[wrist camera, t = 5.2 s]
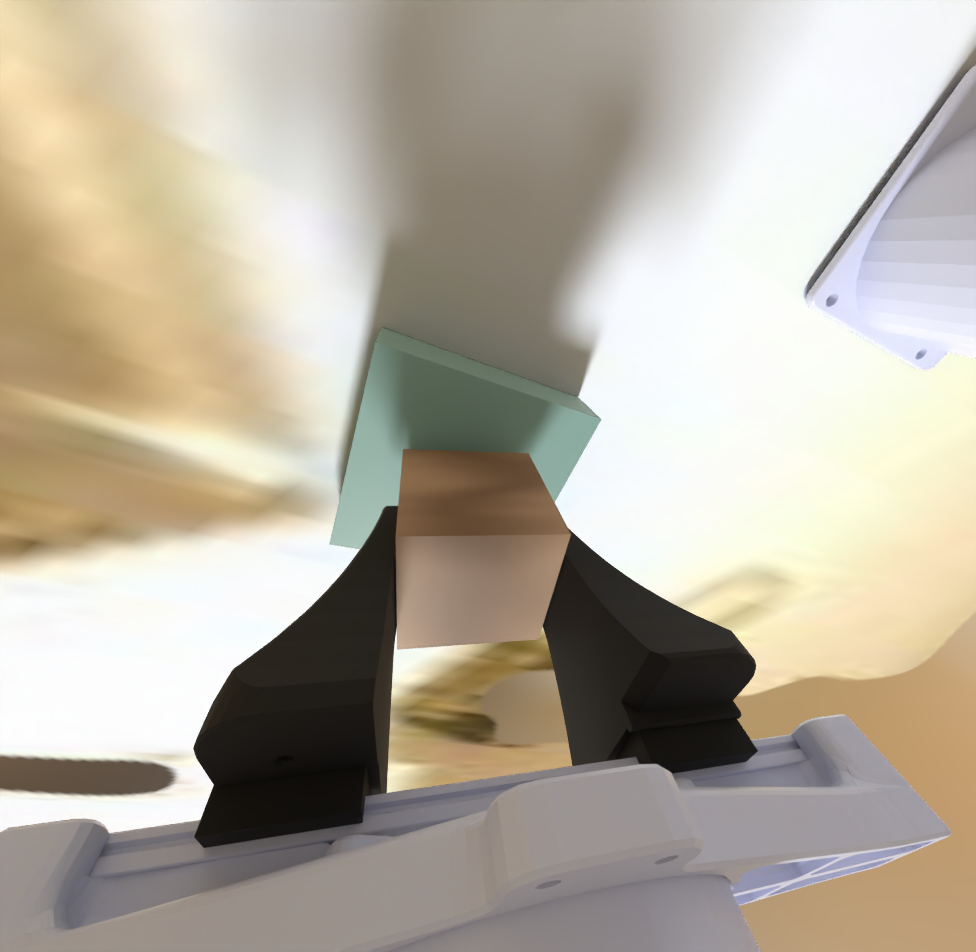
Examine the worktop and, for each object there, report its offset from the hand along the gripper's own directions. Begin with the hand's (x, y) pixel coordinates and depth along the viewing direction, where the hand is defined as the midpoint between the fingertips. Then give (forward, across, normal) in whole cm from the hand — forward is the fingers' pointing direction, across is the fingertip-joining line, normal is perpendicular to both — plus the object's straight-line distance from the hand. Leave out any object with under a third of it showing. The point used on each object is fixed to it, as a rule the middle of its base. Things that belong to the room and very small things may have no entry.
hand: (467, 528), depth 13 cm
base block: (+6, 0, 0) cm, 6 cm away
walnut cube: (+2, 0, 0) cm, 2 cm away
